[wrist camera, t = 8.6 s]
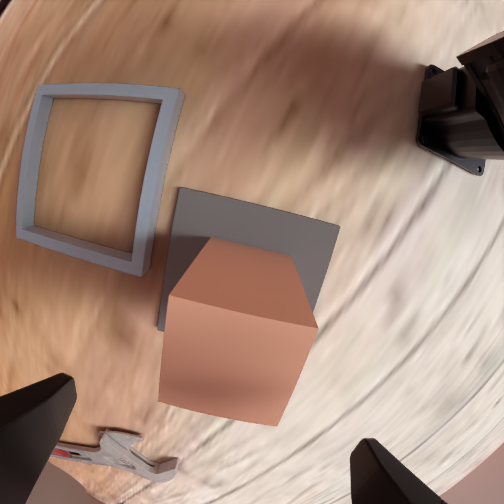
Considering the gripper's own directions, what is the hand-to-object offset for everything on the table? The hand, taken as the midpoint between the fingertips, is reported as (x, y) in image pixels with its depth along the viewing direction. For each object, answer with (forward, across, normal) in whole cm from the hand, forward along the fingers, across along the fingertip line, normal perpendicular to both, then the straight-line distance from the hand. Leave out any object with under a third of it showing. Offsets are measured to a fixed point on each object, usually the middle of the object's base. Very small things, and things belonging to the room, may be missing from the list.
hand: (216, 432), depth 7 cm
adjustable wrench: (+13, +13, +27) cm, 33 cm away
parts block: (+12, 0, 0) cm, 12 cm away
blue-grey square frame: (+12, +12, -5) cm, 18 cm away
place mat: (+12, 0, 0) cm, 12 cm away
